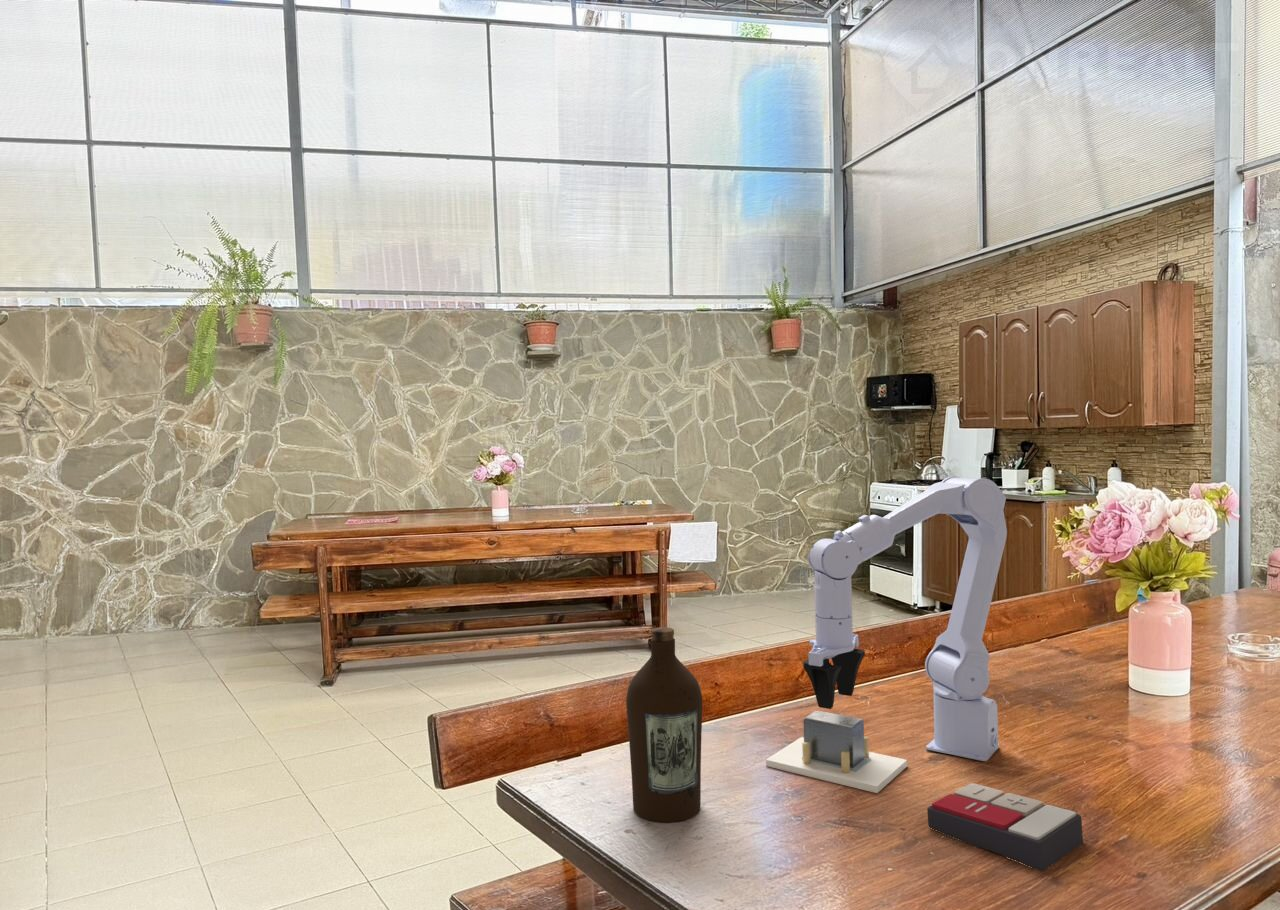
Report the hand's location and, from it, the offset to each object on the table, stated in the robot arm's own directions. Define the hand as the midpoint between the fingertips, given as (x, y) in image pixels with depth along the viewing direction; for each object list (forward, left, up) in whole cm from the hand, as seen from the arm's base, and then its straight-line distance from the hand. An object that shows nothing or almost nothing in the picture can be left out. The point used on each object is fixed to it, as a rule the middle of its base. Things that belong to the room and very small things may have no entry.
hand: (835, 701), depth 133 cm
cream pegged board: (-1, +3, -9) cm, 10 cm away
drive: (-1, +3, -8) cm, 9 cm away
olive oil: (+12, +30, -10) cm, 33 cm away
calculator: (-28, +11, -10) cm, 32 cm away
